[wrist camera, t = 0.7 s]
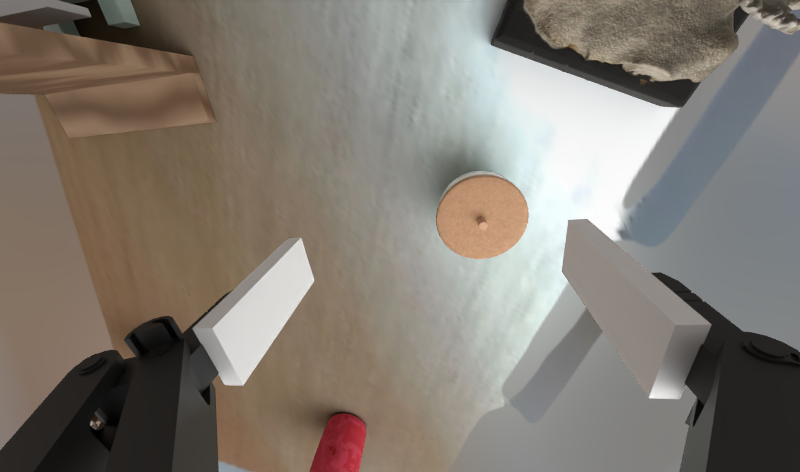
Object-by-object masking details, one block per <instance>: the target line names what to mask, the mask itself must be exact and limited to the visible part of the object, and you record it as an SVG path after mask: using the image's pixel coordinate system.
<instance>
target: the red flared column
mask: <svg viewBox="0 0 800 472" xmlns="http://www.w3.org/2000/svg"><path fill="white" fill-rule="evenodd" d="M365 437H366V427H365V424H364V423H363V422H362V421H361V420H360V419H359V418H358V417H356V416H354V415H351V414H346V413H340V414H336V415H334V416H332V417H331V418H330V419H329V421H328V423H327V425H326V427H325V430H324V432H323V435H322V438H321V440H320V443H319V446H318V448H317V451H316V454H315V457H314V460H313V463H312V466H311V469H310V472H359V468H360V463H361V458H362V453H363V448H364V443H365Z"/></svg>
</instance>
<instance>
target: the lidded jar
mask: <svg viewBox="0 0 800 472" xmlns="http://www.w3.org/2000/svg"><path fill="white" fill-rule="evenodd" d="M527 223H528V207H527V203H526V200H525V198H524V196H523V195H522V193H521V192H520V190H519V189H518V188H517V187H516V186H515V185H514V184H512V183H511V182H509V181H508V180H507V179H505V178H504V177H502V176H500V175H498V174H496V173H493V172H489V171H473V172H469V173H466V174H463V175H461V176H459V177H458V178H456V179H455V180H454V181H452V182H451V183H450V184H449V185H448V186H447V188H446V189H445V191H444V192H443V194H442V196H441V198H440V201H439V205H438V209H437V215H436V224H437V229H438V232H439V235H440V237H441V239H442V240H443V242H444V243H445V244H446V245H447V247H449V248H450V249H451V250H452V251H454V252H455V253H457V254H459V255H462V256H464V257H468V258H474V259H484V258H491V257H494V256H497V255H500V254H502V253H504V252H506V251H507V250H509V249H510V248H511V247H513V246H514V245H515V244H516V243H517V242H518V241H519V239H520V238H521V237H522V235H523V233H524V231H525V229H526V226H527Z"/></svg>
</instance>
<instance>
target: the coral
mask: <svg viewBox="0 0 800 472" xmlns="http://www.w3.org/2000/svg"><path fill="white" fill-rule="evenodd" d="M796 9H800V0H508V1H507V3H506V6H505V8H504V11H503V13H502V16H501V19H500V21H499V24H498V26H497V29H496V32H495V34H494V36H493V39H492V42H491V45H492V46H495V47H497V48H500V49H503V50H506V51H509V52H511V53H514V54H517V55H520V56H523V57H525V58H528V59H531V60H534V61H536V62H539V63H542V64H545V65H548V66H551V67H553V68H556V69H559V70H561V71H563V72H567V73H570V74H573V75H575V76H578V77H581V78H584V79H586V80H588V81H592V82H595V83H597V84H600V85H603V86H606V87H608V88H611V89H614V90H617V91H620V92H623V93H625V94H628V95H631V96H633V97H636V98H639V99H642V100H644V101H647V102H650V103H653V104H656V105H659V106H663V107H678V108H679V107H683V106H684V105H685V103H686V102H687V101H688V99H689V98H690V97H691V95H692V94H693V93H694V91H695V90H696V88H697V87H698V86H699V84H700V83H701V81H703V80H704V79H705V78H706V77H708V76H709V74H711V73H712V71H714V70H715V68H717V67H718V66H719V65H720V64H722V63H723V62H724V61H725V60H726V59H727V58H728V57H730V56H731V55H732V53H733V52H734V51H735V50H736V48H737V47H738V44H739V43H738V36H737V34H736V32H737V31H738V29H739V28H740V26H741V25H742V24H743V22H744V21H745V19H746V18H747V16H748V15H749V14H750V15H751V16H752V17H753V18H755V19H757V20H759V21H760V22H761V23H764V24H766V25H768V26H769V27H771V28H772V29H778V30H780V31H781V32H783V33H786V34H793V33H794V32H796V31H797V30H799V29H800V19H797V18H796V16H795V15H794V14H789V12H790V11H791V10H796Z"/></svg>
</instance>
